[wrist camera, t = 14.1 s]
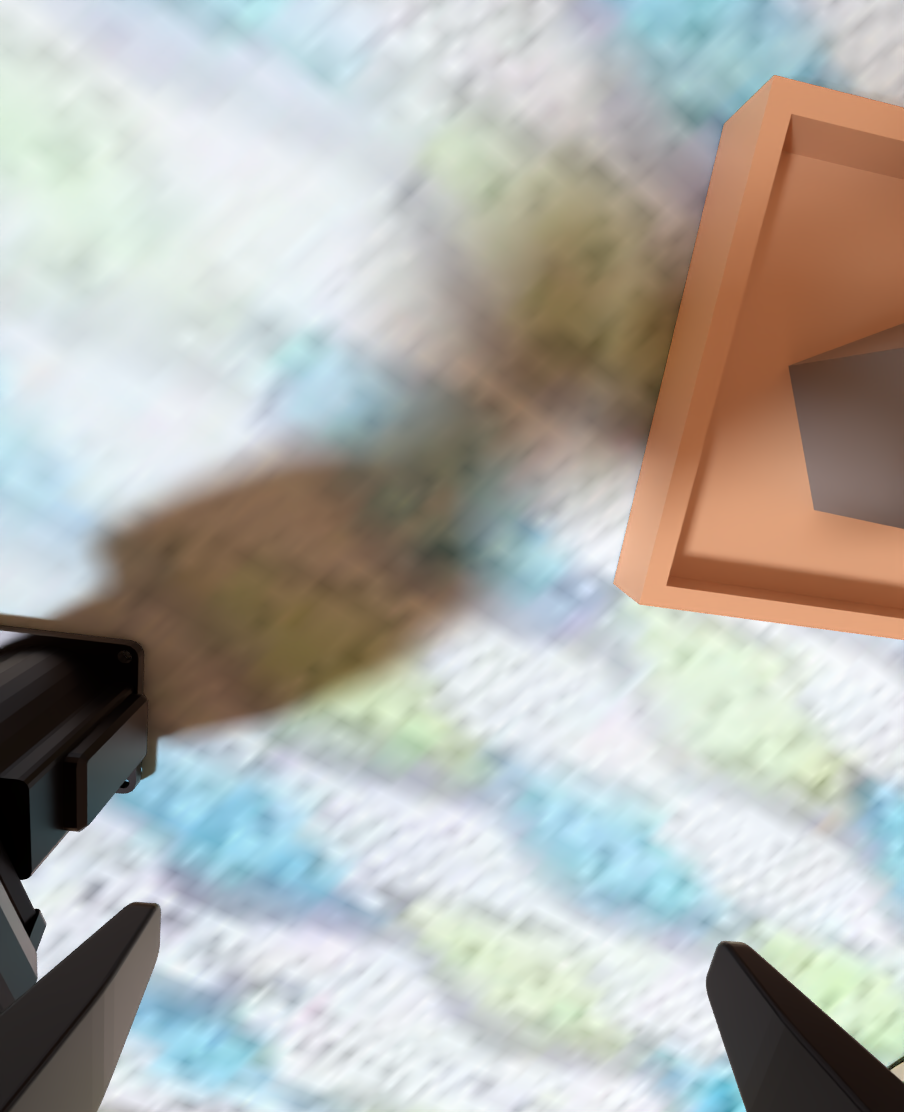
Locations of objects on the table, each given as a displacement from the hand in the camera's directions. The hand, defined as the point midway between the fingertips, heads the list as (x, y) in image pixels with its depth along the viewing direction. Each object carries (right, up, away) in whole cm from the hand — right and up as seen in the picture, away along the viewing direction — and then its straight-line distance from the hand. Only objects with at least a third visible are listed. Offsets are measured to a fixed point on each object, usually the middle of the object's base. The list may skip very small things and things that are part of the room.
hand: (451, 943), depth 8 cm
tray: (+16, +12, +12) cm, 23 cm away
